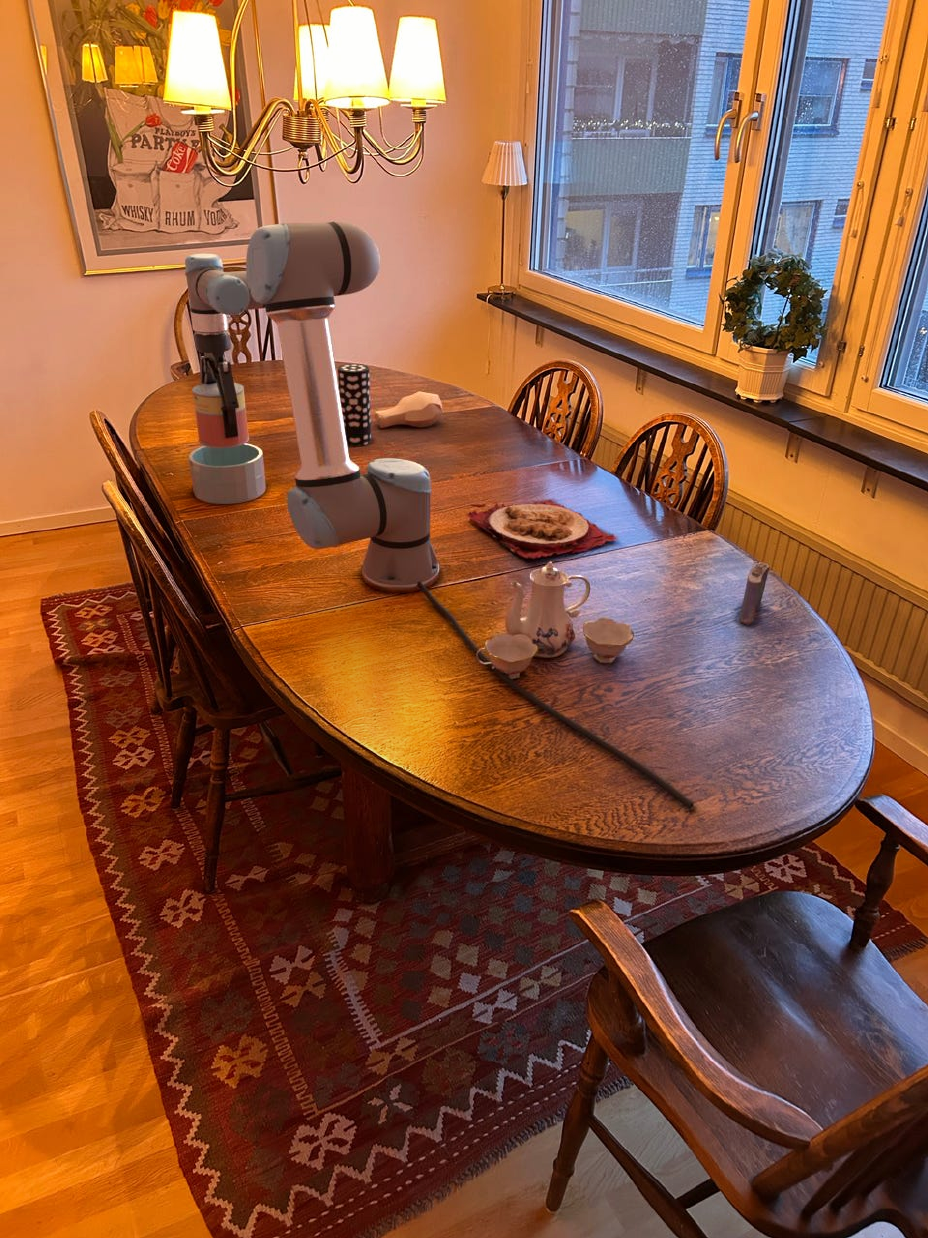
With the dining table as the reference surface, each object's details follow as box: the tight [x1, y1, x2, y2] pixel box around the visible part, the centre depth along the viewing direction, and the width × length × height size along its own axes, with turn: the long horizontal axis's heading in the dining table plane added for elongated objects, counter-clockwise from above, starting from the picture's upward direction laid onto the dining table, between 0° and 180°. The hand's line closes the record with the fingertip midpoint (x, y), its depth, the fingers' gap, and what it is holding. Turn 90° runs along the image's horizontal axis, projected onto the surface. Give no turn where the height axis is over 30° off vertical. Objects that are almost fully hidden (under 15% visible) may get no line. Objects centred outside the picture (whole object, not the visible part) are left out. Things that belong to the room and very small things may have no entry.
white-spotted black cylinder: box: [337, 363, 372, 447], centre depth 235 cm, size 8×8×20 cm
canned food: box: [191, 382, 250, 448], centre depth 199 cm, size 11×11×12 cm
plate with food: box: [464, 499, 619, 560], centre depth 192 cm, size 24×26×4 cm
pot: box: [188, 443, 267, 505], centre depth 206 cm, size 17×17×9 cm
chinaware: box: [475, 561, 635, 680], centre depth 146 cm, size 28×17×17 cm, turn 114°
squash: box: [374, 390, 443, 429], centre depth 251 cm, size 11×20×9 cm, turn 112°
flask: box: [738, 560, 771, 626], centre depth 161 cm, size 9×3×11 cm, turn 151°
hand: (223, 429), depth 200 cm, fingers closed on canned food, 11 cm apart
